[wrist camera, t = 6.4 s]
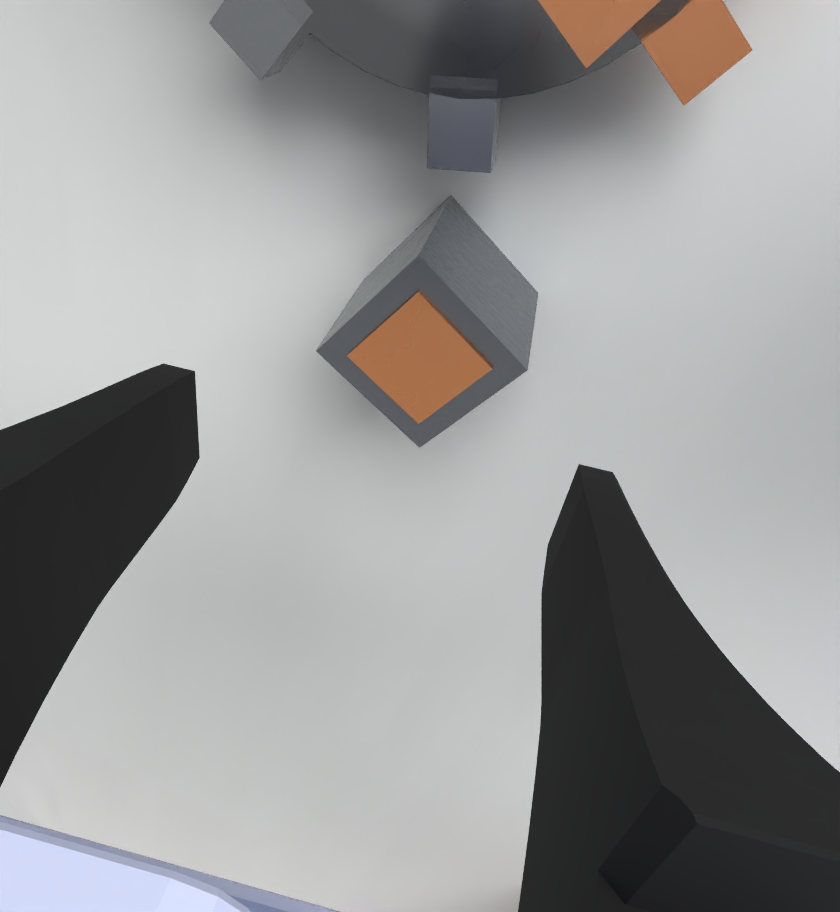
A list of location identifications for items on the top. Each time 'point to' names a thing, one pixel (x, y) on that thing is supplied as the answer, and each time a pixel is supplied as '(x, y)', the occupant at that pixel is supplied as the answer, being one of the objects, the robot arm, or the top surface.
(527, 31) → the sprocket
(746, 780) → the robot arm
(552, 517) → the top surface
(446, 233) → the cube with orange inset
